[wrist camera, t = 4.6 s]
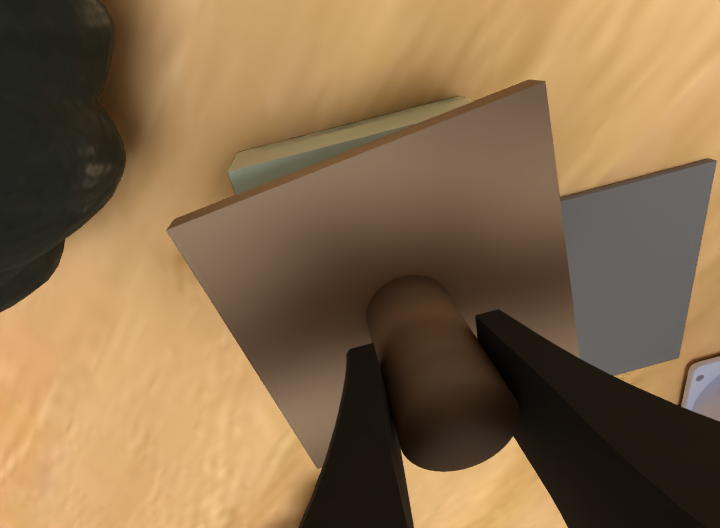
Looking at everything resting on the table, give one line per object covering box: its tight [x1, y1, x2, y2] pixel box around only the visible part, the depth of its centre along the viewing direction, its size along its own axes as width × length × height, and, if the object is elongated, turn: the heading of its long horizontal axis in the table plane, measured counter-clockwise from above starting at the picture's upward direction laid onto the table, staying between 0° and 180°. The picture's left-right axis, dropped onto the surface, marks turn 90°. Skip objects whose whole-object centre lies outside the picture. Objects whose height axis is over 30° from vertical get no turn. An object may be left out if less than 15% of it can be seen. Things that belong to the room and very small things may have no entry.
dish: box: [227, 96, 475, 195], centre depth 17 cm, size 9×9×3 cm
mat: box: [560, 159, 717, 376], centre depth 22 cm, size 12×11×1 cm
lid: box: [166, 80, 580, 472], centre depth 11 cm, size 10×10×5 cm
